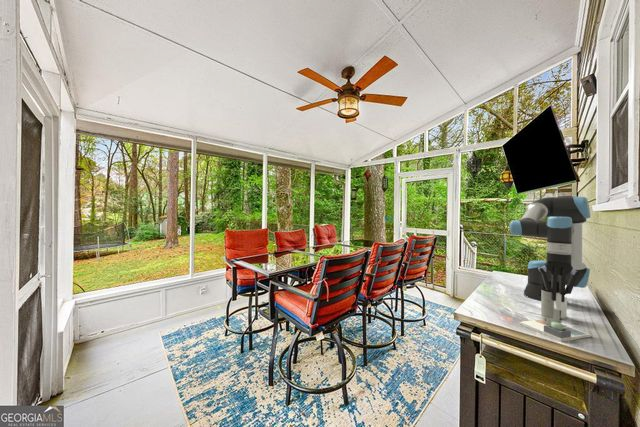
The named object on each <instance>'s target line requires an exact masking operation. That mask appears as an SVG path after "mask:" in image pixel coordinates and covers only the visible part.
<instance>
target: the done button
mask: <svg viewBox="0 0 640 427" xmlns="http://www.w3.org/2000/svg"><path fill="white" fill-rule="evenodd" d="M563 324H564V323H562V322H561V323H558V322H551V328H553V329H556V330H558V331H563Z"/></svg>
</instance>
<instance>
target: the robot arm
mask: <svg viewBox="0 0 640 427" xmlns="http://www.w3.org/2000/svg"><path fill="white" fill-rule="evenodd" d="M590 210H591V209H590V203H589V200H588V198H587V197H586V196H556V197H555V196H549V197H548V196H547V197H541V198H539V199H536V200H534V201H532V202H530V203H529V204H528V205H527V206H526V208H525V212H524V214H523V216H521V218H520V219H513V220H511V221H510V223H509V232H510V234H511V235H513V236H519V237H522V236H523V237H538V238H539V237H540V238H546V251H547V252H546V260H531V261H529V262H528V264H527V283H526V285H525V288H524V290H523V295H524V296H525V295H526V296H528V297H527V298H529V297H530V298H529V299H532V298H534V299H533V300H536V299H538V300H537V301H541V288H542V279H543V282H544V285H545V289H546V290H548V291H550V292H551V299H552V300H553V301H554V308H555V309H556V310H561V302H564V301H565V296H567V295H571V294H572V291H573V289H574V288H581V289H584V288H586V287H587V286H588V283H589V278H590V274H591V273H590V272H591V270H590V268H588V267H587V265H586V264H585V263H584V262H583V224H585V223H586V222H587V219H591V211H590ZM543 218H547V220H543ZM548 279H551V288H550V285H549V281H548ZM557 280H558V281H559V292H560V293H557ZM526 296H525V297H526Z"/></svg>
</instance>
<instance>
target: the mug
mask: <svg viewBox="0 0 640 427" xmlns="http://www.w3.org/2000/svg"><path fill="white" fill-rule="evenodd" d="M567 307H568V297H567V295H565V301H564V302H561V320H562V319H566V318H567V316H568V312H567V310H568V308H567Z"/></svg>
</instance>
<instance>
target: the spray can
mask: <svg viewBox="0 0 640 427" xmlns="http://www.w3.org/2000/svg"><path fill="white" fill-rule="evenodd" d="M548 281H549V285H550V288H551V279H548ZM557 293H560V292H559V281H558V280H557ZM540 305H541V307H540V308H541V309H540V319H541V321H542V322H543V323H545V324H548V325H551V322H558V323H561V324H562V319H561V310H556V309H555V308H554V301H553V300H552V299H551V292H550V291H548V290H546V289H545V285H544V282H543V279H542V288H541V300H540Z"/></svg>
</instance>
